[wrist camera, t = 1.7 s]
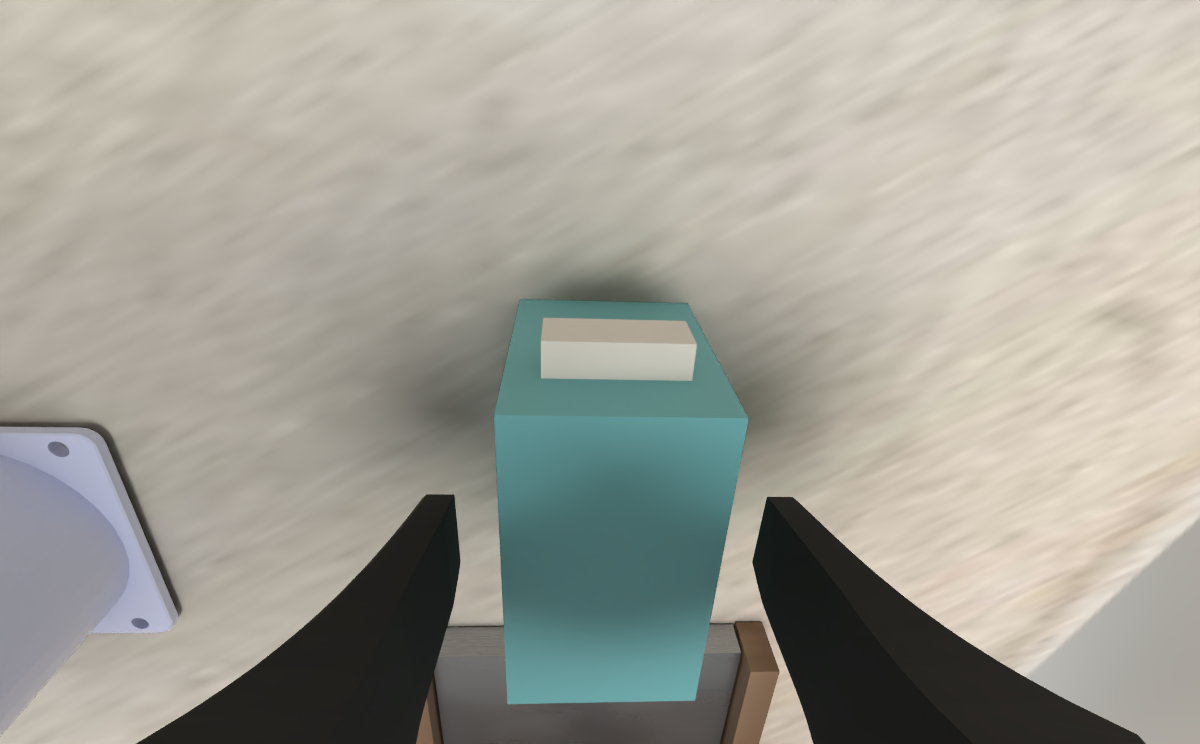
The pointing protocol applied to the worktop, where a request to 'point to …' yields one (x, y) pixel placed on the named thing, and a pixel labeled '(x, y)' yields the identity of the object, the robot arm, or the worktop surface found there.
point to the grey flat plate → (573, 730)
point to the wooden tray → (744, 706)
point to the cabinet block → (611, 499)
